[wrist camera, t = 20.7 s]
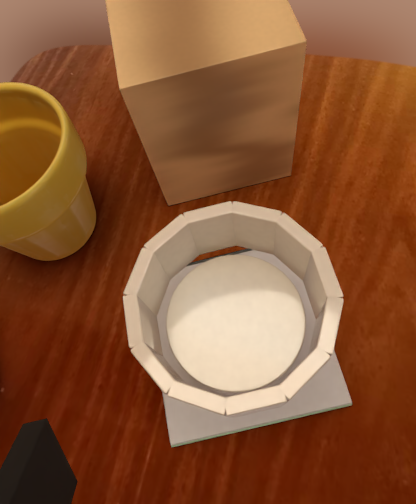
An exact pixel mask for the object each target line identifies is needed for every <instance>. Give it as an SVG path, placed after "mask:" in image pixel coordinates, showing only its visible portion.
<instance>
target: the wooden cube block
mask: <svg viewBox="0 0 416 504" xmlns="http://www.w3.org/2000/svg"><path fill="white" fill-rule="evenodd" d="M105 2H106V7H107V14H108V20H109V26H110V33H111V39H112V46H113V52H114V58H115V64H116V71H117V77H118V83H119V89H120V92H121V94H122V96H123V99H124V101H125V104H126V106H127V108H128V111H129V113H130V116H131V118H132V120H133V123H134V125H135V128H136V130H137V132H138V135H139V137H140V140H141V142H142V144H143V147H144V149H145V152H146V154H147V156H148V159H149V161H150V164H151V166H152V168H153V171H154V173H155V176H156V178H157V180H158V183H159V185H160V188H161V190H162V192H163V195H164V197H165V200H166V202H167V204H168V206H170V205H174V204H178V203H182V202H186V201H190V200H194V199H198V198H202V197H206V196H210V195H214V194H218V193H222V192H226V191H230V190H234V189H238V188H242V187H246V186H250V185H254V184H258V183H262V182H266V181H270V180H274V179H278V178H282V177H286V176H290V175H291V170H292V162H293V153H294V145H295V136H296V128H297V120H298V111H299V103H300V94H301V86H302V77H303V69H304V61H305V52H306V44H307V40H306V38H305V36H304V34H303V32H302V30H301V28H300V25H299V23H298V21H297V19H296V17H295V15H294V13H293V11H292V8H291V6H290V4H289V2H288V0H105Z"/></svg>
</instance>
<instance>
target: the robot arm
mask: <svg viewBox="0 0 416 504" xmlns="http://www.w3.org/2000/svg"><path fill="white" fill-rule="evenodd" d="M76 484H77V480H76V478H75V475H74V473H73V471H72V469H71V467H70V465H69V463H68V461H67V459H66V457H65V455H64V453H63V451H62V449H61V447H60V445H59V443H58V441H57V438H56V436H55V434H54V432H53V430H52V428H51V426H50V424H49V422H48V420H47V419H43V420H38V421H34V422H30V423H26V424H23V425H22V427H21V429H20V431H19V433H18V435H17V437H16V439H15V441H14V443H13V445H12V447H11V449H10V451H9V453H8V455H7V457H6V459H5V461H4V463H3V465H2V467H1V469H0V504H71V502H72V499H73V495H74V492H75V488H76Z"/></svg>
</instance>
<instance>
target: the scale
mask: <svg viewBox="0 0 416 504" xmlns="http://www.w3.org/2000/svg"><path fill="white" fill-rule="evenodd" d="M225 255H247V256H252V257H256V258H259V259H262V260H264V261H266V262H269V263H270V264H272V265H274V266H275V267H277V268H278V269H279V270H281V271H282V272H283V273H284V274H285V275H286V276H287V277H288V278H289V279H290V280H291V282H292V283H293V284H294V286H295V287H296V289H297V291H298V292H299V294H300V297H301V299H302V302H303V305H304V309H305V316H306V331H305V338H304V341H303V345H302V348H301V350H300V352H299V354H298V357H297V358H296V360H295V362H294V364H293V366H292V368H291V370H290V371H289V373H288V374H287V375H286V376H285V378H286V377H287V376H288V375H289V374H290V373H291V372H292V371H293V370H294V369H295V368H296V367H297V366H298V365H299V364H300V363H301V362H302V361H303V360H304V359H305V358H306V357H307V356H308V353H309V349H310V344H311V340H312V335H313V331H314V326H315V322H316V318H315V315H314V312H313V310H312V307H311V304H310V301H309V298H308V295H307V292H306V289H305V286H304V283H303V280H301V279H300V278H299V277H298V276H297V275H296V274H295V273H294V272H292V271H291V270H290V269H289V268H288V267H287V266H286V265H285V264H284V263H282V262H281V261H280V260H279V259H278V258H277V257H276V256H275V255H273V254H269V253H265V252H261V251H256V250H252V249H244V250H240V251H236V252H232V253H228V254H224V255H220V256H225ZM220 256H216V257H220ZM216 257H212V258H208V259H204V260H200V261H196V262H191V263H189V264H188V265H187V266H186V267H185V268H183V269H182V270H181V271H180V272H179V273H178V274H177V275H175V276H174V277H173V278H172V279H171V280H170V282H169V285H168V288H167V290H166V293H165V296H164V298H163V301H162V304H161V306H160V309H159V312H158V314H157V321H158V327H159V333H160V340H161V346H162V352H163V357H164V358H165V359H166V360H167V361H168V363H169V364H170V365H171V366H172V367H173V369H174V370H175V371H176V372H177V373H178V375H179V376H180V377H181V378H182V379H183V381H184V382H185V383H186V384H188V385H191V386H194V387H197V388H200V389H203V390H206V391H209V392H212V393H215V392H213V391H211V390H209V389H207V388H206V387H204V386H203V385H202V384H200V383H199V382H198V381H196V380H195V379H194V378H192V377H191V376H190V375H189V374H188V373H187V372H186V371H185V370H184V369H183V368H182V367H181V366H180V364H179V363H178V362H177V360H176V358H175V357H174V355H173V353H172V351H171V348H170V345H169V342H168V338H167V332H166V315H167V309H168V306H169V302H170V299H171V297H172V295H173V292H174V291H175V289H176V287H177V286H178V284H179V283H180V282H181V280H182V279H183V278H184V277H185V276H186V275H187V274H188V273H189V272H190V271H192V270H193V269H194V268H195V267H197V266H198V265H200V264H202V263H204V262H206V261H208V260H210V259H213V258H216ZM285 378H284V379H285ZM284 379H283V380H284ZM283 380H282V381H283ZM282 381H281V382H282ZM281 382H280V383H281ZM280 383H278V384H277V385H279V384H280ZM162 393H163V392H162ZM215 394H217V393H215ZM218 395H220V394H218ZM221 396H223V395H221ZM224 397H227V396H224ZM163 400H164V406H165V413H166V419H167V426H168V432H169V439H170V445H171V447H176V446H180V445H185V444H189V443H193V442H197V441H202V440H206V439H210V438H214V437H219V436H223V435H227V434H232V433H236V432H240V431H244V430H249V429H253V428H257V427H261V426H266V425H270V424H274V423H278V422H283V421H287V420H291V419H295V418H300V417H304V416H308V415H312V414H317V413H321V412H325V411H330V410H334V409H338V408H342V407H347V406H351V405H352V400H351V397H350V394H349V391H348V389H347V386H346V383H345V380H344V377H343V374H342V371H341V368H340V365H339V362H338V360H337V357H336V354H335V351H333V354H332V355H331V358H330V359H329V360H328V361H327V362H326V363H325V365H324V366H323V367H322V368H321V369H320V370H319V371H318V372H317V373H316V374H315V375H314V376H313V377H312V378H311V379H310V380H309V381H308V382H307V383H306V384H305V385H304V386H303V387H302V388H301V389H300V390H299V391H298V392H297V393H296V394H295V395H294V396H293V397H292V398H291V400H289V401H288V402H287V403H286V404H285V405H283V406H282V407H279V408H275V409H270V410H266V411H262V412H258V413H253V414H249V415H245V416H241V417H236V418H232V417H231V418H229V417H226V416H223V415H220V414H217V413H214V412H211V411H208V410H205V409H202V408H200V407H197V406H194V405H191V404H188V403H185V402H182V401H179V400H176V399H174V398H171V397H168V395H167V394H164V393H163Z"/></svg>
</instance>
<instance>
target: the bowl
mask: <svg viewBox="0 0 416 504" xmlns="http://www.w3.org/2000/svg"><path fill="white" fill-rule="evenodd" d="M183 215H184V216H183ZM183 215H182V214H180V215H179V216H178V217H177V218H175V219H174V220H173V221H172V222H171V223H169V224H168V225H167V226H166V227H165V228H164V229H162V230H161V231H160V232H159V233H158V234H156V235H155V236H154V237H153V238H152V239H150V240H149V241H148V242H147V243H146V244H144V247H145V248H142V249H141V251H140V254H139V256H138V259H137V261H136V263H135V266H134V268H133V271H132V273H131V275H130V278H129V280H128V283H127V285H126V287H125V290H124V292H123V294H124V295H125V296H123V304H124V312H125V320H126V328H127V336H128V344H129V348H130V349H131V353H132V354H133V355H134V356H135V358H136V359H137V360H138V361H139V363H140V364H141V365H142V366H143V368H144V369H145V370H146V372H147V373H148V374H149V375H150V377H151V378H152V379H153V380H154V382H155V383H156V384H157V385H158V387H159V388H160V389H161V390H162V392H163V393H164V394H167V395H168V397H171V398H174V399H176V400H179V401H182V402H185V403H188V404H191V405H194V406H197V407H200V408H202V409H205V410H208V411H211V412H214V413H217V414H220V415H223V416H226V417H229V418H231V417H232V418H236V417H241V416H245V415H249V414H253V413H258V412H262V411H266V410H270V409H275V408H279V407H282V406H283V405H285V404H286V403H287V402H288V401H289V400H291V398H292V397H293V396H294V395H295V394H296V393H297V392H298V391H299V390H300V389H301V388H302V387H303V386H304V385H305V384H306V383H307V382H308V381H309V380H310V379H311V378H312V377H313V376H314V375H315V374H316V373H317V372H318V371H319V370H320V369H321V368H322V367H323V366H324V365H325V363H326V362H327V361H328V360H329V359H330V358H331V355H332V354H333V351H334V346H335V341H336V336H337V331H338V326H339V321H340V317H341V312H342V307H343V302H344V299H342V298H343V293H342V291H341V288H340V285H339V283H338V280H337V277H336V275H335V272H334V269H333V267H332V264H331V261H330V259H329V256H328V253H327V251H326V248H325V247H322V246H323V244H322V243H320V242H319V241H318V240H317V239H316V238H314V237H313V236H312V235H311V234H310V233H308V232H307V231H306V230H305V229H304V228H302V227H301V226H300V225H299V224H298V223H296V222H295V221H294V220H293V219H291V218H290V217H289V216H288V215H287V214H285V213H283V214H282V212H281V211H278V210H274V209H269V208H264V207H260V206H255V205H250V204H246V203H241V202H236V201H233V203H232V202H231V201H228V202H224V203H220V204H216V205H212V206H208V207H204V208H200V209H196V210H192V211H188V212H184V214H183ZM233 246H240V247H244V248H248V249H252V250H256V251H261V252H265V253H269V254H273V255H275V256H276V257H277V258H278V259H279V260H280V261H281V262H282V263H284V264H285V265H286V266H287V267H288V268H289V269H290V270H291V271H292V272H294V273H295V274H296V275H297V276H298V277H299V278H300V279H301V280H303V283H304V286H305V289H306V292H307V295H308V298H309V301H310V304H311V307H312V310H313V312H314V315H315V318H316V322H315V326H314V331H313V335H312V340H311V344H310V349H309V353H308V356H307V357H306V358H305V359H304V360H303V361H302V362H301V363H300V364H299V365H298V366H297V367H296V368H295V369H294V370H293V371H292V372H291V373H290V374H289V375H288V376H287V377H286V378H285V376H286V375H287V374H288V373H289V371H290V370H291V368H292V366H293V364H294V362H295V360H296V358H297V357H298V354H299V352H300V350H301V348H302V345H303V341H304V338H305V331H306V316H305V309H304V305H303V302H302V299H301V297H300V294H299V292H298V291H297V289H296V287H295V286H294V284H293V283H292V282H291V280H290V279H289V278H288V277H287V276H286V275H285V274H284V273H283V272H282V271H281V270H279V269H278V268H277V267H275V266H274V265H272V264H270V263H269V262H266V261H264V260H262V259H259V258H256V257H252V256H247V255H225V256H220V257H216V258H213V259H210V260H208V261H206V262H204V263H202V264H200V265H198V266H197V267H195V268H194V269H193V270H192V271H190V272H189V273H188V274H187V275H186V276H185V277H184V278H183V279H182V280H181V282H180V283H179V284H178V286H177V287H176V289H175V291H174V292H173V295H172V297H171V299H170V302H169V306H168V309H167V315H166V332H167V338H168V342H169V345H170V348H171V351H172V353H173V355H174V357H175V358H176V360H177V362H178V363H179V364H180V366H181V367H182V368H183V369H184V370H185V371H186V372H187V373H188V374H189V375H190V376H191V377H192V378H194V379H195V380H196V381H198V382H199V383H200V384H202V385H203V386H204V387H206V388H207V389H209V390H211V391H213V392H215V393H217V394H215V393H212V392H209V391H206V390H203V389H200V388H197V387H194V386H191V385H188V384H186V383H185V382H184V381H183V379H182V378H181V377H180V376H179V375H178V373H177V372H176V371H175V370H174V369H173V367H172V366H171V365H170V364H169V363H168V361H167V360H166V359H165V358H164V357H163V352H162V346H161V340H160V333H159V327H158V321H157V314H158V312H159V309H160V306H161V304H162V301H163V298H164V296H165V293H166V290H167V288H168V285H169V282H170V280H171V279H172V278H173V277H174V276H175V275H177V274H178V273H179V272H180V271H181V270H182V269H183V268H185V267H186V266H187V265H188V264H189V263H190V262H191V261H193V260H194V259H195V258H196V257H197V256H198V255H200V254H204V253H208V252H212V251H216V250H220V249H224V248H229V247H233ZM284 378H285V379H284ZM283 379H284V380H283ZM282 380H283V381H282ZM281 381H282V382H281ZM280 382H281V383H280ZM278 383H280V384H279V385H277V384H278ZM218 394H220V395H218ZM221 395H223V396H221ZM224 396H227V397H224Z"/></svg>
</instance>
